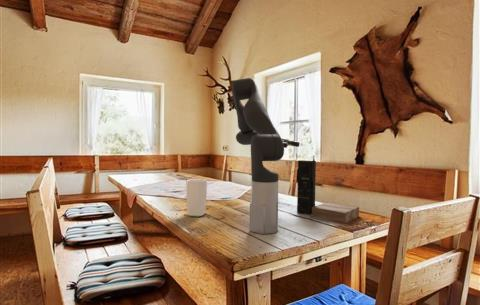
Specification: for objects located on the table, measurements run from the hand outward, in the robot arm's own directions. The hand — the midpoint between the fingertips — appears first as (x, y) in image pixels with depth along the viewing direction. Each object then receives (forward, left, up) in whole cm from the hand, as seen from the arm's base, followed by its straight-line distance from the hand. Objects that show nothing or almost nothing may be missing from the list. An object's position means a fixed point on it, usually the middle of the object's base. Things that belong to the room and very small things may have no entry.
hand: (293, 145), depth 135 cm
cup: (-37, +23, -30) cm, 53 cm away
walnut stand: (+1, -20, -29) cm, 36 cm away
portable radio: (-1, -7, -30) cm, 30 cm away
